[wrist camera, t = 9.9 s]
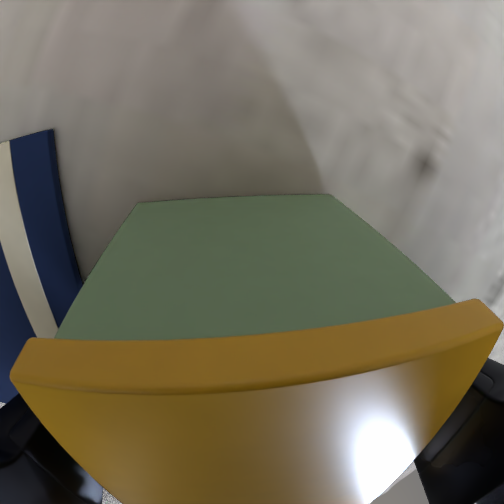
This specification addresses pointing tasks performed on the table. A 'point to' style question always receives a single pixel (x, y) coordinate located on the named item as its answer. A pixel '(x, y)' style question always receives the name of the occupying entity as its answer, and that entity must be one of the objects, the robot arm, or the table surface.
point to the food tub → (253, 356)
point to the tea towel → (32, 250)
